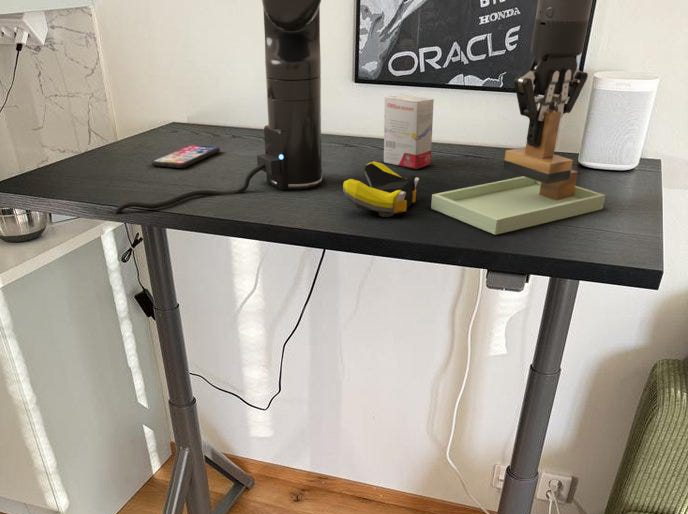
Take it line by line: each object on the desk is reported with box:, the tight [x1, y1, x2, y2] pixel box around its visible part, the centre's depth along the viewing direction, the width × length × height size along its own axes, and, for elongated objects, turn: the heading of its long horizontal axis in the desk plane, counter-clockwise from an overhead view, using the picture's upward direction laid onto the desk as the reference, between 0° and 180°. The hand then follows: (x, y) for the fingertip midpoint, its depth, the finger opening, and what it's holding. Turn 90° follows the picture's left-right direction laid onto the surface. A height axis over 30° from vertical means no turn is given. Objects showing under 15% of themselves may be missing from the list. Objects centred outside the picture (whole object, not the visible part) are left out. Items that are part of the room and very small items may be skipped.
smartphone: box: [151, 144, 221, 169], centre depth 147 cm, size 8×1×15 cm
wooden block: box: [539, 169, 579, 200], centre depth 122 cm, size 4×4×4 cm
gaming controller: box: [342, 161, 420, 218], centre depth 120 cm, size 15×6×10 cm
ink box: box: [383, 93, 435, 170], centre depth 140 cm, size 9×5×12 cm, turn 44°
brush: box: [502, 107, 574, 184], centre depth 116 cm, size 5×10×10 cm, turn 32°
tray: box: [430, 176, 606, 236], centre depth 119 cm, size 24×16×2 cm, turn 122°
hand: (540, 144), depth 116 cm, fingers closed on brush, 2 cm apart
